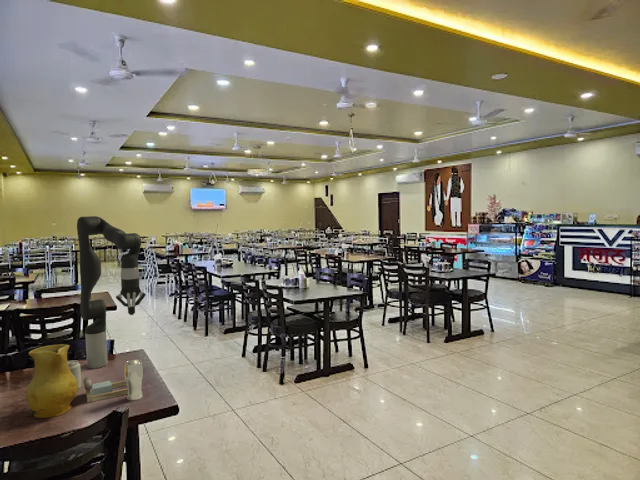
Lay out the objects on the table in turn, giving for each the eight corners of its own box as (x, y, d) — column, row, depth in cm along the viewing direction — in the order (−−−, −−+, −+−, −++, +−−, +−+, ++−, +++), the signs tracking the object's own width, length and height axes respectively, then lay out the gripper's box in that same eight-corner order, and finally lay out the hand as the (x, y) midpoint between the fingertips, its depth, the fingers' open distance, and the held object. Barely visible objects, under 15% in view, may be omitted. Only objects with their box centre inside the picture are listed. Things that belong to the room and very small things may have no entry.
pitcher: (21, 424, 154) (20, 356, 154) (32, 406, 171) (31, 344, 171) (75, 416, 161) (74, 350, 161) (81, 399, 178) (80, 339, 178)
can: (58, 390, 184) (56, 363, 183) (74, 384, 191) (73, 358, 190) (68, 393, 181) (66, 366, 180) (85, 387, 187) (83, 360, 187)
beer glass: (126, 402, 172) (124, 366, 171) (125, 396, 178) (123, 361, 177) (144, 398, 175) (143, 363, 174) (143, 392, 181) (141, 358, 180)
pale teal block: (90, 393, 181) (89, 384, 181) (110, 389, 186) (110, 380, 185) (91, 398, 176) (90, 389, 176) (112, 394, 180) (111, 385, 180)
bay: (84, 393, 181) (83, 376, 180) (126, 384, 190) (125, 368, 189) (85, 403, 172) (84, 385, 171) (130, 393, 180) (129, 376, 180)
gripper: (144, 274, 199) (145, 311, 201) (113, 277, 192) (114, 314, 194) (147, 277, 193) (148, 314, 194) (114, 279, 186) (116, 318, 187)
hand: (131, 314), depth 194 cm, fingers closed
